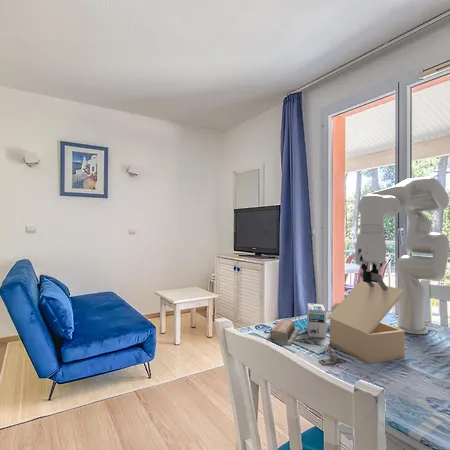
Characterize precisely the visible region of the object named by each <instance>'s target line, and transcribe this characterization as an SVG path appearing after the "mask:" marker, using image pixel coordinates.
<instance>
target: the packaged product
mask: <svg viewBox="0 0 450 450" xmlns="http://www.w3.org/2000/svg"><path fill="white" fill-rule="evenodd" d="M300 330H301V328H300V327H297V326H296V327H295V321H293V320H292V319H282V320H279V321H277V322H276V324H275V325H274V326H273V327H272V328H271V329H270V331H269V334H268V335H267V336H266V337H265V339H266V340H269V341H270V340H271V341H273V342H272V343H275V344H280V345H288V346H292V344H293V343H294V342H295V340H296V338H297V336H298V335H299V333H300ZM269 341H268V342H269Z"/></svg>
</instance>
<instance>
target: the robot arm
mask: <svg viewBox="0 0 450 450" xmlns="http://www.w3.org/2000/svg"><path fill="white" fill-rule="evenodd" d="M449 203H450V199H449V194H448V192H447V191H446V189H445V188H444V186H443V185H442V184H441V182H440V181H439V180H438V179H437V178H435V177H433V176H426V177H425V176H424V177H414V178H406V179H405V180H402V181H401V182H399V183H397V184H396V185H394V186H391V187H387V188H383V189H381V190H377V191H373V192H370V193H368V194H366V195H362V197H361V198H360V199H359V201H358V205H357V210H358V213H359V214H360V225H359V226H360V227H359V228H360V229H359V233H358V234H357V237H356V243H355V250H354V253H355V254H354V260H355V264H356V265H357V266H359V267H360V268H361V271H363V278H362V280H363V282H367V283H371V282H372V283H376V284H379V283H378V282H377V281H375V280H371V273H375V274H380V273H379V272H380V271H381V268H382V267H383V266H384V265H386V264H387V261H386V257H387V245H386V244H387V243H386V237H385V233H384V231H385V217H395V216H397V215H398V214H399V213H400V211H401V208H402V207H403V209H404V212H405V213H406V216H407V218H408V226H407V232H406V237H405V243H404V247H405V250H406V252H407V253H410V254H411V255H410V254H409V255H406V254H405V255H402V256H400V257H399V258H397V261H396V273H397V277H398V278H397V279H398V289H402V290H404V291H405V293H404V294H403V296H402V297H401V298H400V299H399V300H398V301H397V304H398V307H397V310H398V311H397V322H395V323H393V327H396V328H399V329H401V330H404V331H405V333H406V334H412V335H427V334H428V333H429V329H428V328H427V327H426V326H427V325H432V321H431V320H430V319H425V293H426V292H425V287H424V285H423V284H422V282H421V281H420V280H425V281H432V282H440V281H442V280H443V279H444V278H445V275H446V271H447V264H448V260H449V259H448V258H449V253H450V241H449V237H448V235H446V234H445V233H442V232H431V229H432V222H431V219H430V218H429V217H428V215H426V214H425V213H424V212H429V211H431V212H433V211H435V212H436V211H437V212H439V211H443V210H447V208H448V207H449ZM412 254H414V255H412ZM415 254H416V255H415ZM422 255H425V256H422Z"/></svg>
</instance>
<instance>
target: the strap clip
mask: <svg viewBox="0 0 450 450" xmlns="http://www.w3.org/2000/svg"><path fill="white" fill-rule="evenodd" d="M328 351H329V352H328V354H329V358H321V359H320V360H318V363H319V364H321V365H322V366H331V365H334V364H345V363H347V361H346V360H344V359H343V358H337V352H336V350H334V349H332V348H330V349H328Z"/></svg>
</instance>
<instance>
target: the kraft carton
mask: <svg viewBox="0 0 450 450" xmlns="http://www.w3.org/2000/svg"><path fill="white" fill-rule="evenodd" d="M405 333H406V332H405V331H404V330H401V329H399V328H396V327H394V325H390V324H388V323H385V322H382V321H380V323H379V324H378V325H377V326H376V327H375V328H374V330H373V331H372V332H371V333H370V334H369V335H365V334H363V333H361V332H359V331H356V330H354V329H352V328H350V327H347V326H345V325H343V324H341V323H338V322H336V321H334V320H332V319H330V320H329V344H330V345H332V346H333V347H335V348H337V349H339V350H340V351H343V352H344V353H346V354H347V355H350V356H351V357H353V358H355V359H357V360H358V361H361V363H364V364H366V365H368V364H374V363H381V362H386V361H393V360H399V359H404V358H405V344H406V343H405V342H406V341H405V340H406V337H405V335H406V334H405Z"/></svg>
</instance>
